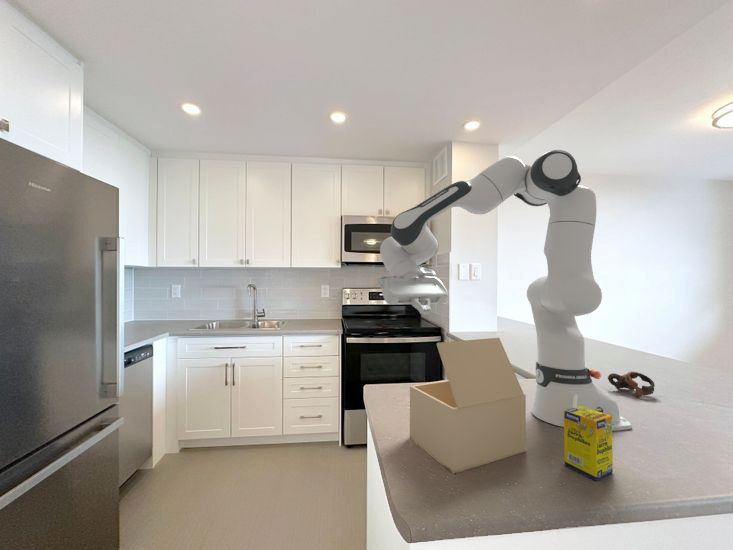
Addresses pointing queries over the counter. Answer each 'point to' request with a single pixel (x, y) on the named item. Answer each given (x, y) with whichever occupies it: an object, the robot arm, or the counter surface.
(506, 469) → the counter surface
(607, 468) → the supplement box
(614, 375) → the brown black double loop
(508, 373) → the carton flap
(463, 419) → the carton
